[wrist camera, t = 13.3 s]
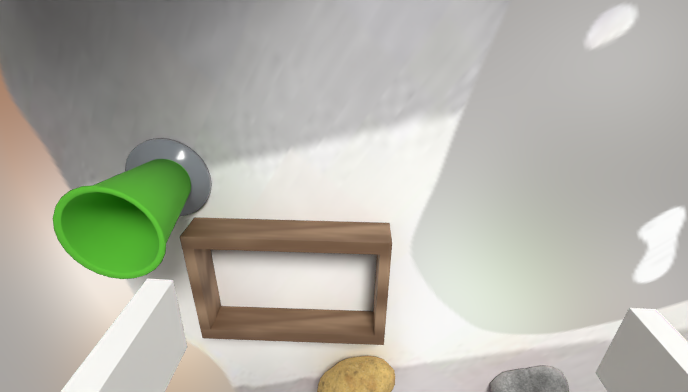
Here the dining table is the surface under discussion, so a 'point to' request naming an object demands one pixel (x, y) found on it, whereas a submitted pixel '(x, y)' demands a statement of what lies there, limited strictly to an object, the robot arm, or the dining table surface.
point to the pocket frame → (285, 239)
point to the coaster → (182, 156)
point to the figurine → (531, 380)
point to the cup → (123, 219)
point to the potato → (358, 376)
